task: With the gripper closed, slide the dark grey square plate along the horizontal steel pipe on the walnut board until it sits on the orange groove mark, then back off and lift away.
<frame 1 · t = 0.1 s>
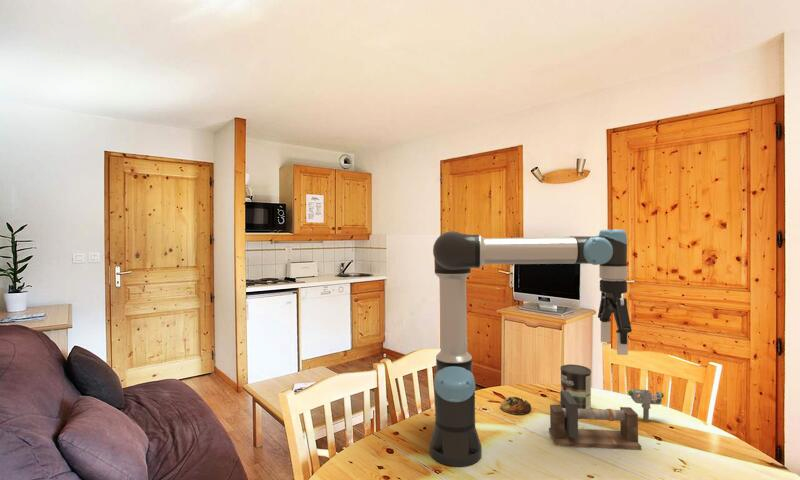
hand: (613, 348, 127), 28 cm above the table, fingers open, 13 cm apart
pipe rig: (592, 440, 126), on the table
dark grey square plate: (568, 413, 127), point 8 cm above the table, slide at 0.0 cm
bread roll: (515, 409, 149), on the table
mechanical component: (646, 421, 138), on the table
coffee can: (575, 407, 149), on the table
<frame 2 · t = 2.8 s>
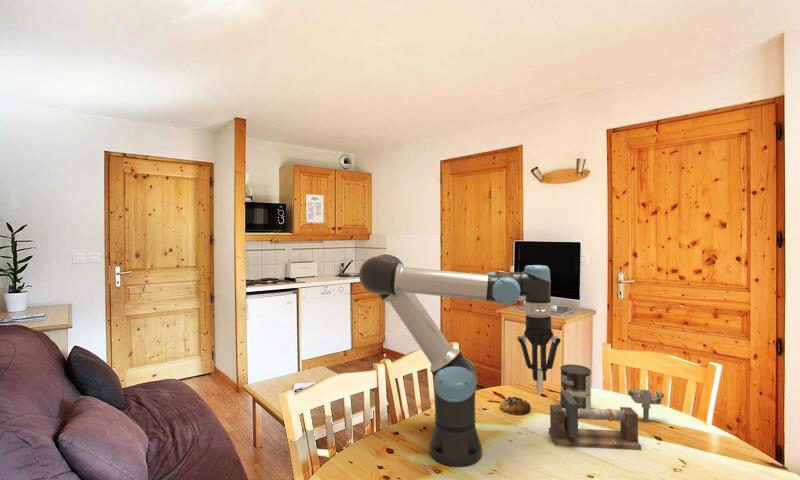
hand: (539, 390, 128), 15 cm above the table, fingers closed
nothing on the table moved.
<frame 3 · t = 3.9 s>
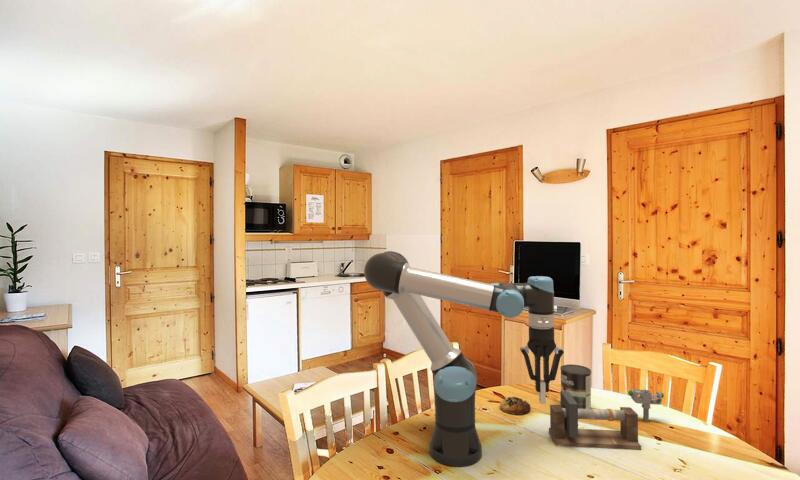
hand: (542, 401, 127), 11 cm above the table, fingers closed
nothing on the table moved.
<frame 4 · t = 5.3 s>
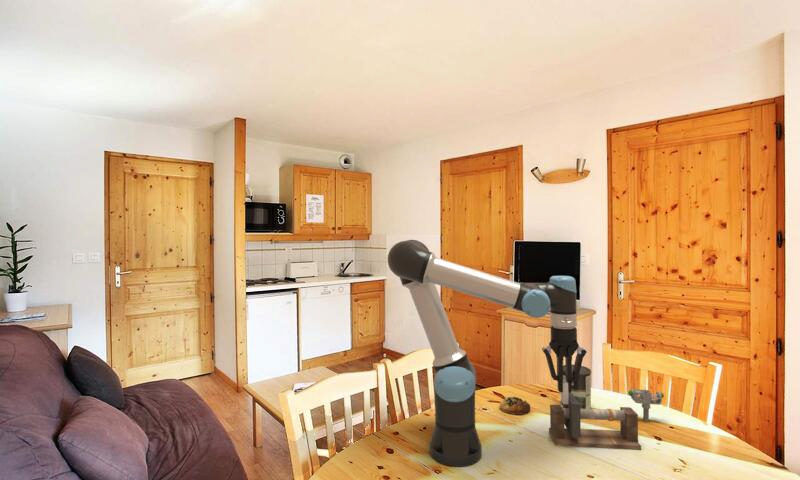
hand: (564, 402, 127), 11 cm above the table, fingers closed
dark grey square plate: (571, 413, 127), point 8 cm above the table, slide at 0.7 cm, touching gripper
everything else where it was.
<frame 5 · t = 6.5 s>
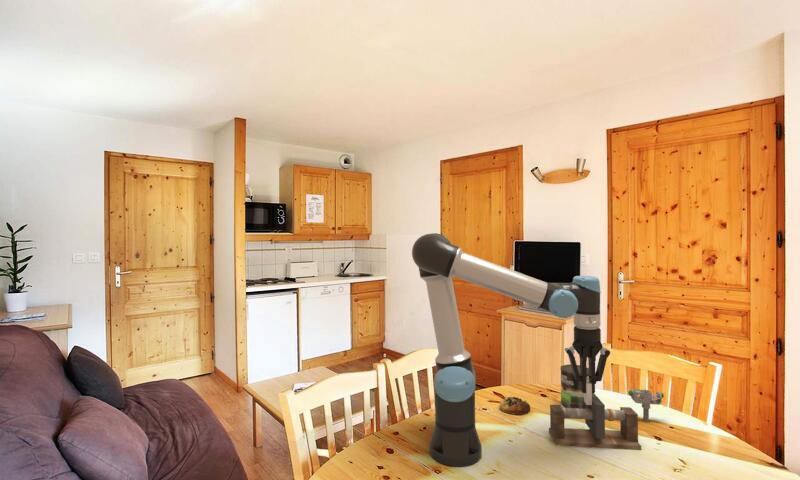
hand: (587, 403, 126), 11 cm above the table, fingers closed
dark grey square plate: (594, 414, 126), point 8 cm above the table, slide at 7.6 cm, touching gripper
everything else where it was.
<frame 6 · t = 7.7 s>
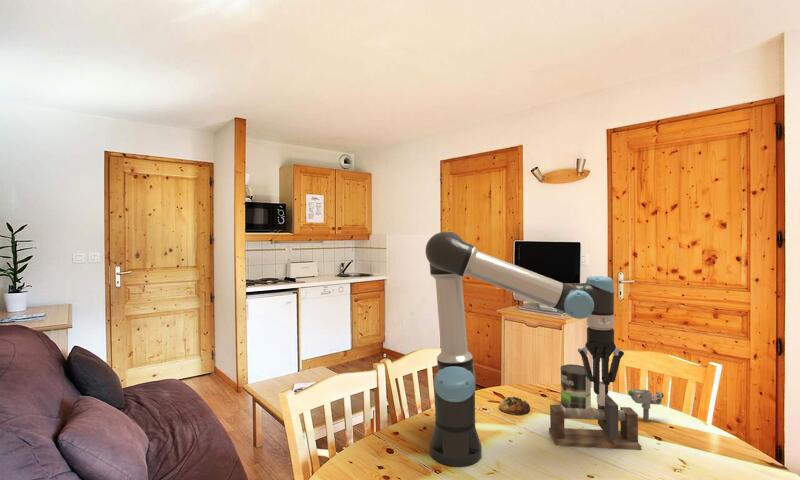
hand: (600, 404, 125), 11 cm above the table, fingers closed
dark grey square plate: (607, 414, 125), point 8 cm above the table, slide at 11.3 cm, touching gripper
everything else where it was.
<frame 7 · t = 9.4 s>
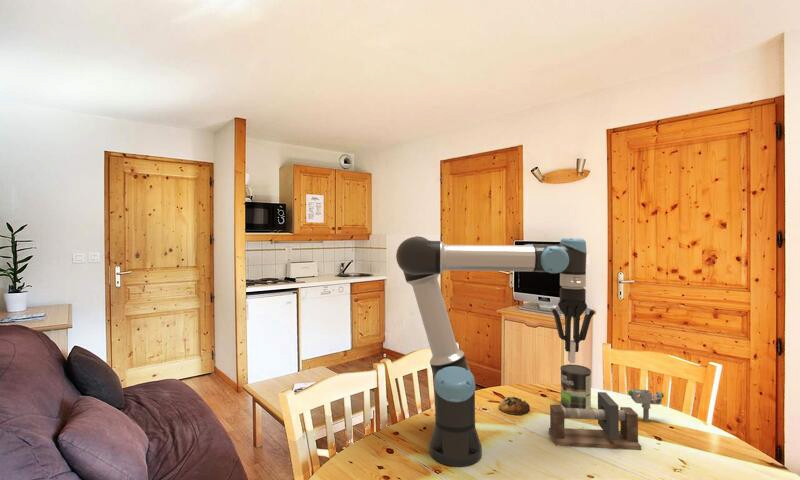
hand: (571, 361, 129), 23 cm above the table, fingers closed
dark grey square plate: (607, 414, 125), point 8 cm above the table, slide at 11.4 cm
everything else where it was.
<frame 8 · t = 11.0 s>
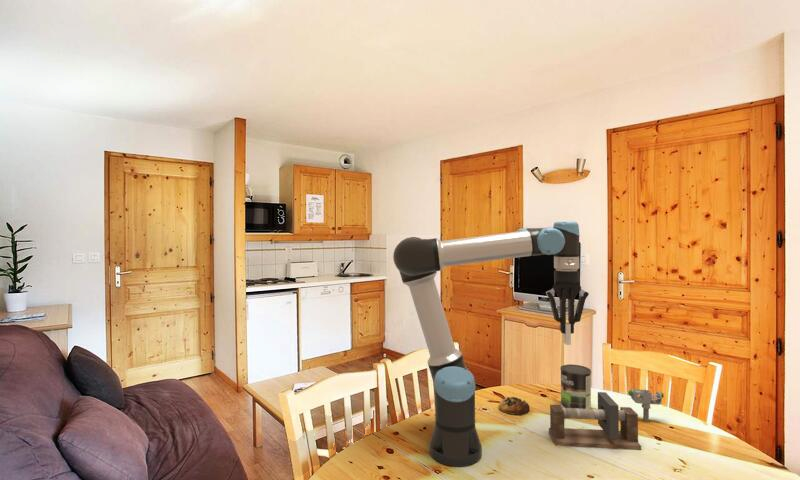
hand: (567, 343, 131), 28 cm above the table, fingers closed
nothing on the table moved.
at the end: dark grey square plate slide at 11.4 cm; the gripper is holding nothing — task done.
